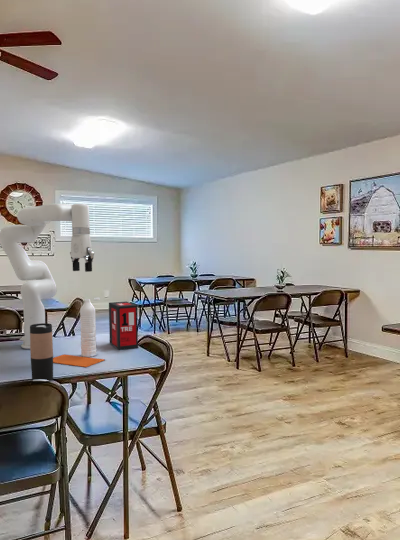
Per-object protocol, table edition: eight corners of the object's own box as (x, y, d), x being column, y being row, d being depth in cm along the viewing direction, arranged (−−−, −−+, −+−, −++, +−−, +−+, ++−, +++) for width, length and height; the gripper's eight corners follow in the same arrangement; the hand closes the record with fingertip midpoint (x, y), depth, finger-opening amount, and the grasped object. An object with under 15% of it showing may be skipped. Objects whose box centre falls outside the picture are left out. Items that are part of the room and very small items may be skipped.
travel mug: (34, 377, 171) (32, 323, 170) (55, 376, 172) (54, 323, 171) (28, 383, 164) (26, 327, 162) (51, 383, 164) (49, 326, 163)
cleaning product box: (109, 343, 228) (108, 302, 227) (127, 341, 232) (126, 301, 231) (119, 350, 213) (118, 306, 212) (137, 348, 217) (137, 305, 216)
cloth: (43, 361, 194) (43, 360, 194) (64, 355, 205) (64, 354, 205) (85, 367, 184) (85, 366, 184) (104, 360, 195) (104, 359, 195)
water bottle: (83, 357, 200) (81, 299, 198) (79, 354, 205) (78, 298, 204) (103, 355, 204) (101, 298, 202) (99, 352, 209) (98, 297, 208)
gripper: (62, 232, 207) (64, 271, 208) (84, 231, 196) (86, 272, 197) (77, 232, 213) (78, 270, 214) (99, 231, 201) (101, 271, 202)
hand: (82, 271), depth 205 cm, fingers open, 9 cm apart
